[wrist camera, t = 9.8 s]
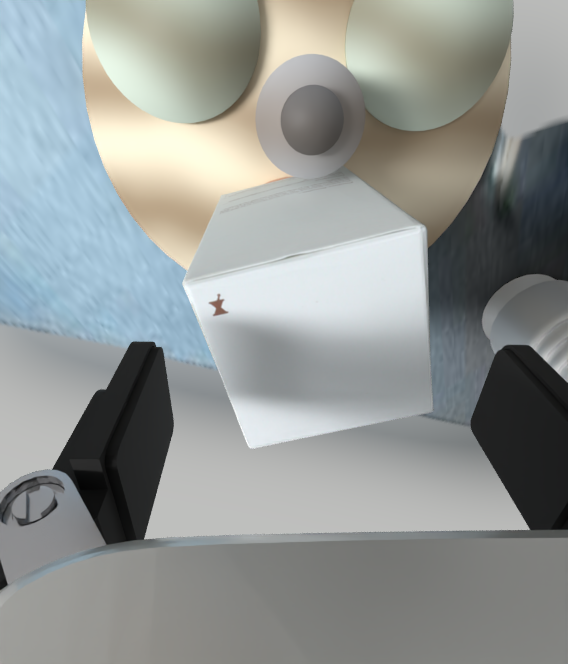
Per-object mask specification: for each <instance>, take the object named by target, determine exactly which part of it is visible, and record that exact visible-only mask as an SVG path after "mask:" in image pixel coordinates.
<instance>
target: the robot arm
mask: <svg viewBox="0 0 568 664" xmlns="http://www.w3.org/2000/svg"><path fill="white" fill-rule="evenodd" d="M173 427H174V422H173V413H172V407H171V400H170V393H169V387H168V381H167V374H166V367H165V360H164V353H163V349H162V347H156V345H155V343H154V342H132V343H131V344H130V346H129V347H128V349H127V351H126V353H125V355H124V357H123V359H122V361H121V363H120V364H119V366H118V368H117V370H116V372H115V374H114V376H113V378H112V380H111V382H110V383H109V385H108V387H107V389H106V390H98V391H97V392H96V393H95V394H94V396H93V397H92V399H91V401H90V403H89V404H88V406H87V408H86V410H85V412H84V414H83V415H82V417H81V419H80V420H79V422H78V424H77V426H76V428H75V429H74V431H73V433H72V435H71V437H70V438H69V440H68V442H67V444H66V446H65V447H64V449H63V451H62V453H61V455H60V456H59V458H58V460H57V462H56V463H55V465H54V467H53V469H52V470H41V471H35V472H32V473H30V474H27V475H24V476H22V477H20V478H19V479H17V480H15V481H14V482H12V483H10V484H9V485H8V486H7V487H6V488H4V490H2V491H1V492H0V664H568V383H567V382H566V381H565V380H564V379H563V378H562V377H561V376H560V375H559V374H558V373H557V372H556V371H555V370H554V369H553V368H552V367H551V366H550V365H549V364H548V363H547V362H546V361H545V360H544V359H543V358H542V357H541V356H540V355H539V354H538V353H537V352H536V351H535V350H534V349H533V348H532V347H531V346H529V345H505V346H504V347H503V348H502V350H498V351H497V353H496V354H495V357H494V360H493V362H492V365H491V368H490V370H489V373H488V376H487V378H486V381H485V384H484V386H483V389H482V392H481V394H480V397H479V400H478V402H477V405H476V408H475V410H474V413H473V416H472V418H471V429H472V432H473V434H474V436H475V437H476V439H477V441H478V442H479V444H480V446H481V447H482V449H483V451H484V452H485V454H486V456H487V458H488V459H489V461H490V463H491V464H492V466H493V468H494V469H495V471H496V473H497V474H498V476H499V478H500V479H501V481H502V483H503V484H504V486H505V488H506V489H507V491H508V493H509V495H510V496H511V498H512V500H513V501H514V503H515V505H516V506H517V508H518V510H519V511H520V513H521V515H522V516H523V518H524V520H525V521H526V523H527V525H528V526H529V528H530V530H499V531H497V530H495V531H419V532H357V533H356V532H353V533H303V534H254V535H222V536H196V537H195V536H194V537H170V538H157V539H146V540H144V537H145V533H146V529H147V526H148V522H149V518H150V515H151V511H152V507H153V504H154V500H155V496H156V493H157V489H158V485H159V482H160V478H161V474H162V470H163V467H164V463H165V459H166V456H167V452H168V448H169V444H170V441H171V437H172V434H173Z"/></svg>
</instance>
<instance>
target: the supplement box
mask: <svg viewBox="0 0 568 664" xmlns="http://www.w3.org/2000/svg"><path fill="white" fill-rule="evenodd" d="M183 287H184V289H185V291H186V293H187V296H188V298H189V301H190V303H191V305H192V308H193V310H194V312H195V315H196V317H197V320H198V322H199V325H200V327H201V329H202V332H203V334H204V337H205V339H206V342H207V344H208V346H209V349H210V351H211V354H212V356H213V359H214V361H215V363H216V366H217V368H218V371H219V373H220V376H221V378H222V380H223V383H224V386H225V388H226V391H227V394H228V396H229V399H230V401H231V404H232V406H233V409H234V411H235V414H236V417H237V419H238V422H239V424H240V427H241V430H242V432H243V434H244V437H245V440H246V442H247V444H248V446H249V448H251V449H254V448H259V447H264V446H269V445H273V444H277V443H282V442H287V441H291V440H296V439H301V438H306V437H311V436H316V435H321V434H326V433H331V432H336V431H341V430H345V429H350V428H355V427H360V426H365V425H370V424H375V423H380V422H385V421H390V420H394V419H400V418H405V417H410V416H415V415H420V414H425V413H430V412H432V411H433V397H432V380H431V363H430V328H429V289H428V247H427V228H426V226H425V225H424V224H422V223H421V222H419V221H418V220H416V219H415V218H413V217H412V216H411V215H409V214H408V213H406V212H405V211H404V210H402V209H401V208H400V207H398V206H397V205H396V204H394V203H393V202H392V201H390V200H389V199H388V198H386V197H385V196H383V195H382V194H381V193H380V192H378V191H377V190H376V189H374V188H373V187H371V186H370V185H369V184H368V183H366V182H365V181H363V180H362V179H361V178H359V177H358V176H357V175H356V174H354V173H353V172H351V171H350V170H348V169H347V168H346V167H344V166H342V167H340V168H339V169H338V170H336V171H335V172H333V173H331V174H329V175H326V176H323V177H320V178H315V179H303V178H297V177H290V178H286V179H282V180H278V181H274V182H270V183H267V184H263V185H259V186H255V187H251V188H247V189H244V190H240V191H236V192H232V193H228V194H224V195H221V197H220V199H219V202H218V204H217V206H216V208H215V211H214V213H213V215H212V217H211V220H210V222H209V224H208V226H207V228H206V231H205V233H204V235H203V238H202V240H201V242H200V244H199V246H198V249H197V251H196V253H195V255H194V258H193V260H192V262H191V264H190V267H189V269H188V271H187V273H186V276H185V278H184V280H183Z"/></svg>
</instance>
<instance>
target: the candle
mask: <svg viewBox="0 0 568 664" xmlns="http://www.w3.org/2000/svg"><path fill="white" fill-rule="evenodd" d="M482 326H483V330H484V332H485V334H486V336H487V337H488V338H489V339H490V342H491V347H492V349H493V351H494V353H495V354H496V353H497V351H498V350H502V348H503V347H504V346H505V345H529V346H531V347H532V348H533V349H534V350H535V351H536V352H537V353H538V354H539V355H540V356H541V357H542V358H543V359H544V360H545V361H546V362H547V363H548V364H549V365H550V366H551V367H552V368H553V369H554V370H555V371H556V372H557V373H558V374H559V375H560V376H561V377H562V378H563V379H564V380H565V381H566V382H567V383H568V281H563V280H555V279H553V278H552V277H550V276H547V275H541V274H532V275H525V276H522V277H519V278H516V279H514V280H512V281H510V282H508V283H507V284H505V285H504V286H502V287H501V288H500V289H499V290H498V291H496V292H495V294H494V295H493V296H492V297H491V299H490V300H489V301H488V303H487V305H486V307H485V309H484V312H483V317H482Z"/></svg>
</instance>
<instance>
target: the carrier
mask: <svg viewBox="0 0 568 664" xmlns="http://www.w3.org/2000/svg"><path fill="white" fill-rule="evenodd" d="M512 26H513V0H86V12H85V21H84V30H83V40H82V55H83V82H84V90H85V98H86V106H87V111H88V115H89V119H90V124H91V128H92V132H93V136H94V140H95V143H96V145H97V148H98V151H99V154H100V156H101V159H102V162H103V165H104V167H105V169H106V172H107V174H108V176H109V178H110V180H111V182H112V184H113V186H114V188H115V190H116V192H117V194H118V195H119V197H120V198H121V200H122V202H123V203H124V205H125V206H126V208H127V209H128V211H129V212H130V214H131V216H132V217H133V218H134V220H135V221H136V222H137V223H138V224H139V226H140V227H141V228H142V229H143V231H144V232H145V233H146V234H147V235H148V237H149V238H150V239H151V240H152V241H153V242H154V243H155V244H156V245H157V246H158V247H159V248H160V249H161V250H162V251H163V252H164V253H165V254H167V255H168V256H169V257H170V258H172V259H173V260H174V261H175V262H177V263H178V264H179V265H181V266H182V267H183V268H184V269H186V270H187V271H188V269H189V267H190V264H191V262H192V260H193V258H194V255H195V253H196V251H197V249H198V246H199V244H200V242H201V240H202V238H203V235H204V233H205V231H206V228H207V226H208V224H209V222H210V220H211V217H212V215H213V213H214V211H215V208H216V206H217V204H218V202H219V199H220V197H221V195H224V194H228V193H232V192H236V191H240V190H244V189H247V188H251V187H255V186H259V185H263V184H267V183H270V182H274V181H278V180H282V179H286V178H290V177H297V178H303V179H315V178H320V177H323V176H326V175H329V174H331V173H333V172H335V171H336V170H338V169H339V168H340V167H342V166H344V167H346V168H347V169H348V170H350V171H351V172H353V173H354V174H356V175H357V176H358V177H359V178H361V179H362V180H363V181H365V182H366V183H368V184H369V185H370V186H371V187H373V188H374V189H376V190H377V191H378V192H380V193H381V194H382V195H383V196H385V197H386V198H388V199H389V200H390V201H392V202H393V203H394V204H396V205H397V206H398V207H400V208H401V209H402V210H404V211H405V212H406V213H408V214H409V215H411V216H412V217H413V218H415V219H416V220H418V221H419V222H421V223H422V224H424V225H425V226H426V228H427V247H428V248H429V247H430V246H431V245H432V244H433V243H434V242H435V241H436V240H437V239H438V238H439V237H440V236H441V234H442V233H443V232H444V231H445V230H446V229H447V228H448V227H449V226H450V224H451V223H452V222H453V220H454V219H455V218H456V216H457V215H458V214H459V212H460V211H461V209H462V208H463V207H464V205H465V204H466V202H467V201H468V199H469V197H470V196H471V194H472V192H473V190H474V189H475V187H476V185H477V183H478V182H479V180H480V178H481V176H482V174H483V171H484V169H485V167H486V165H487V162H488V160H489V158H490V156H491V153H492V151H493V148H494V145H495V142H496V138H497V135H498V132H499V129H500V126H501V123H502V117H503V113H504V109H505V104H506V99H507V94H508V86H509V75H510V66H511V32H512Z"/></svg>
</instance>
